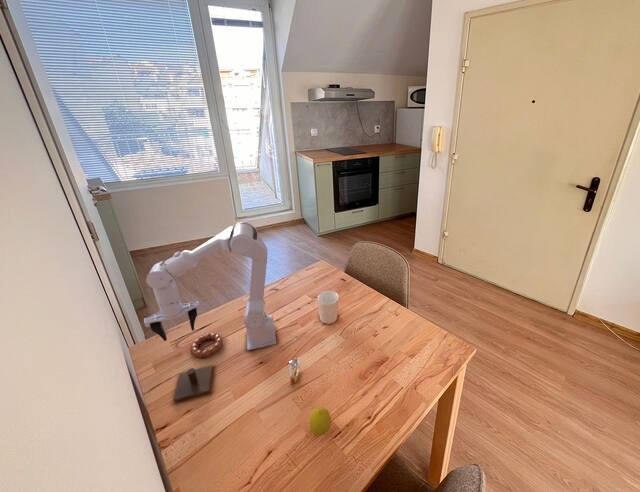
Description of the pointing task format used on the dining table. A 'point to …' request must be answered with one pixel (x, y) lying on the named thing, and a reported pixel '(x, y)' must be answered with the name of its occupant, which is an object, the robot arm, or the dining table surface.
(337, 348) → the dining table surface
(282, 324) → the dining table surface
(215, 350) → the hoop
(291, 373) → the ring
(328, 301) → the white cup
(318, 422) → the lemon
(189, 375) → the stand
